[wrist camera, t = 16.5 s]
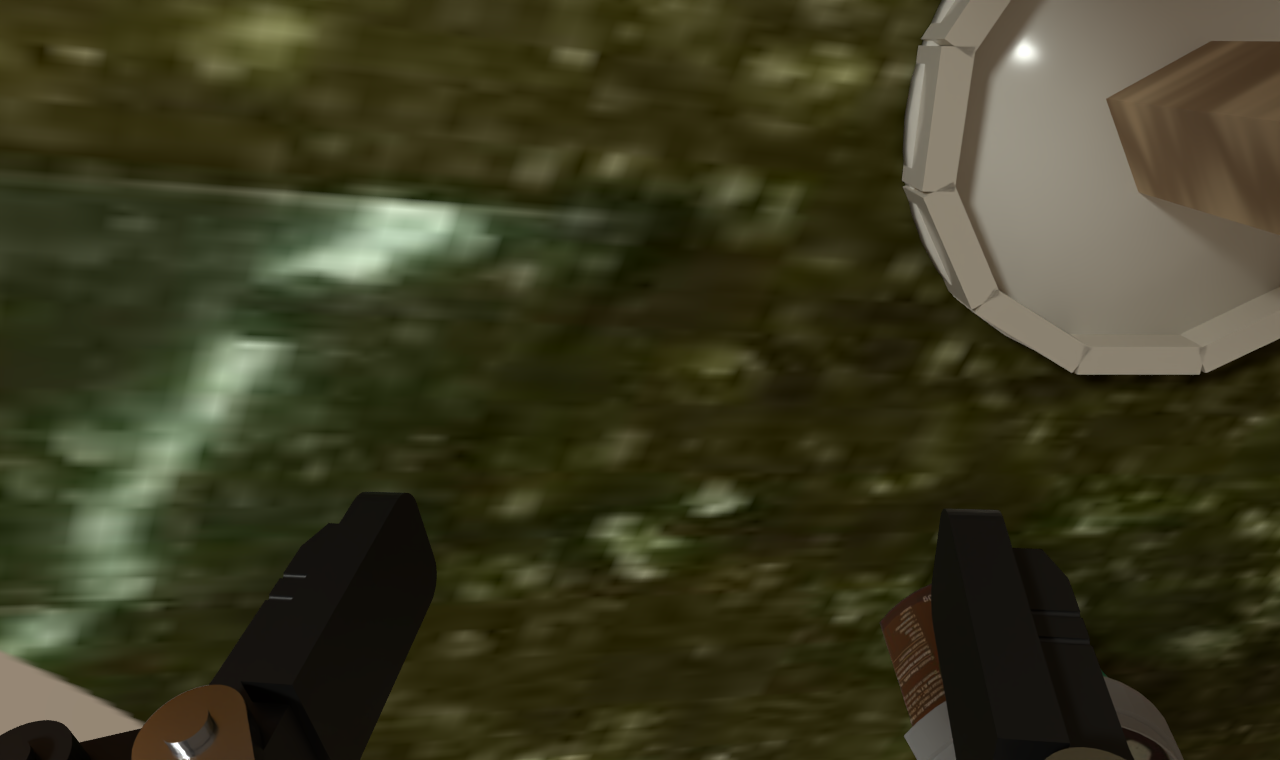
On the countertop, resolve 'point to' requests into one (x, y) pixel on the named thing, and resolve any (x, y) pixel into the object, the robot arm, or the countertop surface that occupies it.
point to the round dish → (1078, 186)
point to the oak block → (1208, 131)
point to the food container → (927, 703)
